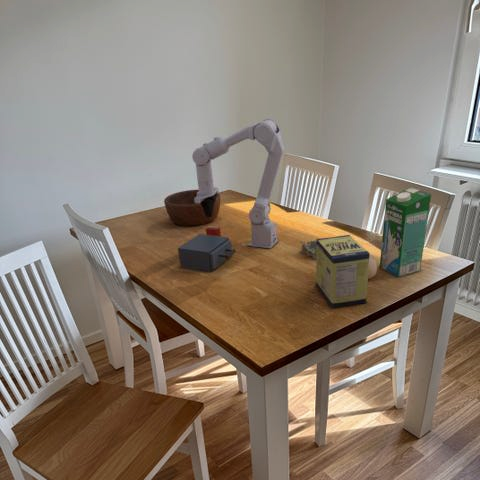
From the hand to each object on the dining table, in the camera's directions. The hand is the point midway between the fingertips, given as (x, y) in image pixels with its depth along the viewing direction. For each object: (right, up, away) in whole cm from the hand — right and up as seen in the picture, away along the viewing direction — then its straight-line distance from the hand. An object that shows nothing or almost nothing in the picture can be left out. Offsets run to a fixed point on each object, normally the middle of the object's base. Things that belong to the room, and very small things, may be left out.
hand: (209, 216), depth 176 cm
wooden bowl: (-9, +6, +31) cm, 33 cm away
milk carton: (+64, -24, -28) cm, 74 cm away
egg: (+52, -27, -32) cm, 67 cm away
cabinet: (0, -19, -11) cm, 22 cm away
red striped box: (+2, -11, +2) cm, 11 cm away
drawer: (+3, -19, -13) cm, 23 cm away
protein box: (+42, -33, -40) cm, 66 cm away
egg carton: (+39, -16, -12) cm, 44 cm away
